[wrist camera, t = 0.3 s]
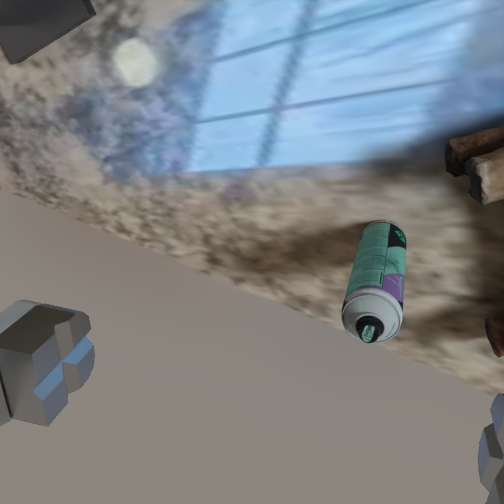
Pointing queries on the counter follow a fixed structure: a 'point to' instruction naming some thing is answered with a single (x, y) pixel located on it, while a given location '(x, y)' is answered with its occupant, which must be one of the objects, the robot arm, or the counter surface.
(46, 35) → the stand
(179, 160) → the counter surface
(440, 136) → the counter surface
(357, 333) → the spray can
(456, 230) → the counter surface
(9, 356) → the robot arm
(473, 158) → the stuffed animal
